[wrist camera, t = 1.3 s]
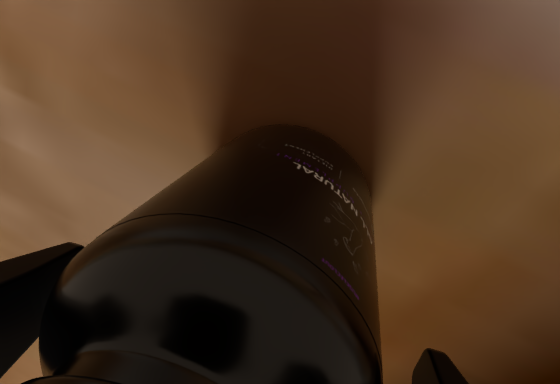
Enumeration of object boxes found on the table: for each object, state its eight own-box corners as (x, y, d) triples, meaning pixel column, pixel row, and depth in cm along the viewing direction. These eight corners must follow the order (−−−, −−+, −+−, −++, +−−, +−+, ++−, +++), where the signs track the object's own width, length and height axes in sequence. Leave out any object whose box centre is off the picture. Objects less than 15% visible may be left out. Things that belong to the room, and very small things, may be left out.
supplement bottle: (393, 139, 12) (707, 977, 1) (347, 283, 15) (324, 892, 4) (215, 102, 13) (-511, 410, 2) (205, 246, 16) (-112, 673, 5)
